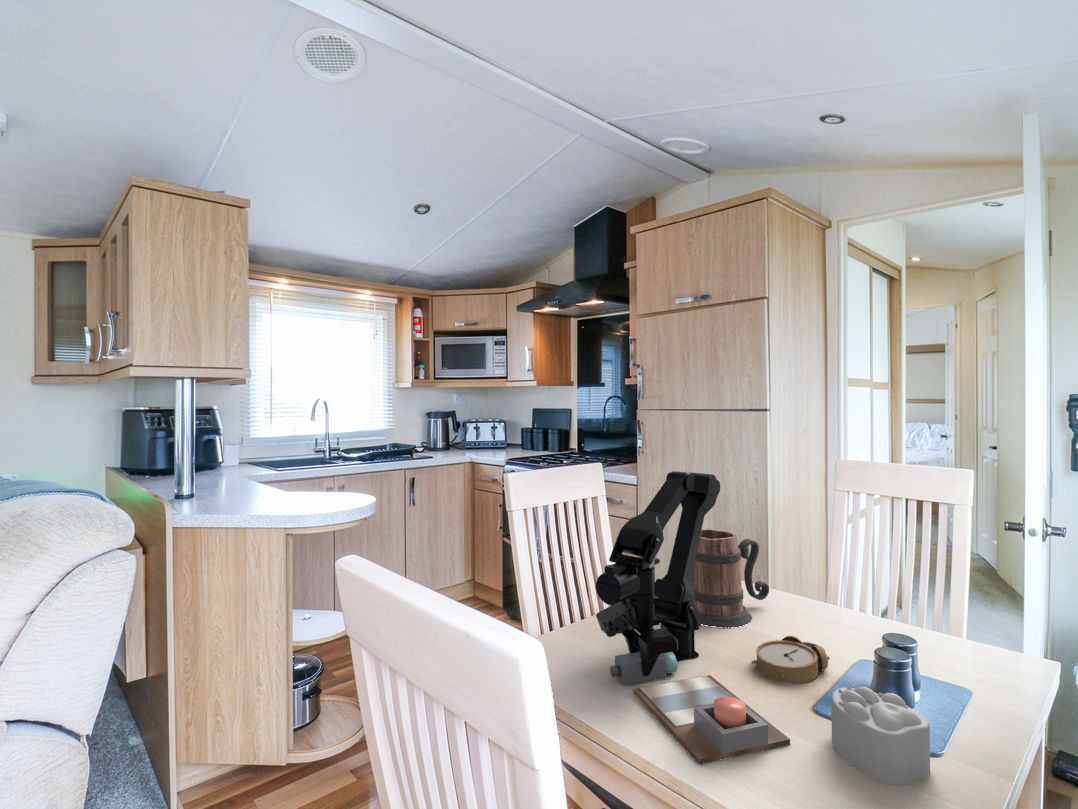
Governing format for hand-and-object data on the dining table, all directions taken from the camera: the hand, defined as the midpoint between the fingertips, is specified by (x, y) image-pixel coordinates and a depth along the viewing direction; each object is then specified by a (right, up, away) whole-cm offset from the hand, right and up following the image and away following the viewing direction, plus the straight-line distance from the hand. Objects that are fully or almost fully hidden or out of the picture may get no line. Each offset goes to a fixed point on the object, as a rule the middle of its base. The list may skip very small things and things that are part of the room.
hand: (641, 670), depth 114 cm
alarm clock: (+31, -1, +3) cm, 31 cm away
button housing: (+10, -1, -21) cm, 23 cm away
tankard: (+27, 0, +32) cm, 42 cm away
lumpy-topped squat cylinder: (+31, -2, -25) cm, 40 cm away
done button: (+10, +1, -21) cm, 23 cm away
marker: (0, -1, 0) cm, 1 cm away
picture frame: (+8, -1, -14) cm, 17 cm away
